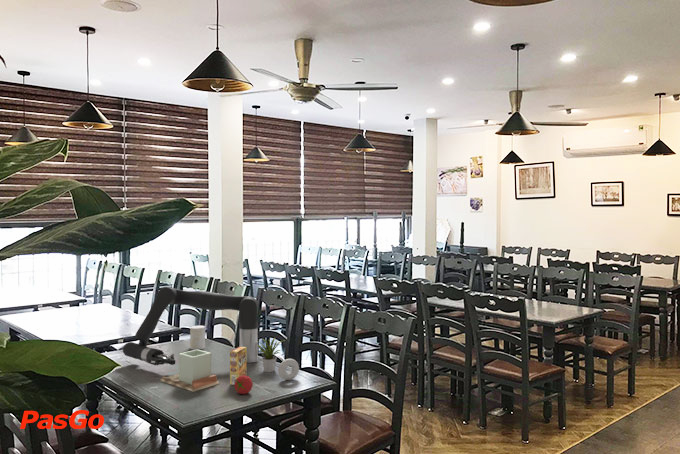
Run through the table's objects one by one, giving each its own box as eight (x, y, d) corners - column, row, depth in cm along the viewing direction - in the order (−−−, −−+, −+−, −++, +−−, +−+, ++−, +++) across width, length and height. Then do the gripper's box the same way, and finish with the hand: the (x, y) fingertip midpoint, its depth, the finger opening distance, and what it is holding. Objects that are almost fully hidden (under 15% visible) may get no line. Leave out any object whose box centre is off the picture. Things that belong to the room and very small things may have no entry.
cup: (187, 348, 308) (187, 327, 308) (196, 345, 316) (196, 325, 315) (199, 350, 305) (199, 328, 305) (207, 346, 312) (207, 326, 312)
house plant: (282, 365, 277) (282, 333, 276) (288, 372, 263) (289, 339, 263) (254, 367, 272) (254, 334, 272) (259, 375, 259) (259, 341, 259)
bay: (160, 380, 249) (160, 372, 249) (186, 373, 260) (186, 365, 260) (193, 391, 234) (193, 382, 234) (218, 383, 245) (218, 375, 245)
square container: (178, 381, 244) (178, 353, 244) (197, 376, 252) (197, 349, 252) (192, 386, 238) (192, 357, 238) (211, 380, 246) (211, 352, 245)
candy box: (237, 385, 243) (237, 351, 243) (229, 384, 244) (229, 350, 244) (247, 379, 252) (247, 347, 251) (238, 379, 253) (238, 346, 252)
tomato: (248, 370, 237) (238, 371, 230) (259, 384, 233) (248, 385, 227) (237, 383, 238) (226, 385, 231) (247, 397, 235) (237, 399, 228)
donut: (279, 382, 248) (279, 360, 248) (277, 380, 251) (277, 358, 251) (300, 379, 253) (300, 358, 252) (297, 377, 256) (297, 356, 255)
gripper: (140, 351, 259) (161, 357, 249) (164, 345, 270) (185, 351, 259) (140, 366, 260) (161, 373, 249) (164, 360, 270) (185, 367, 260)
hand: (173, 362), depth 254 cm, fingers closed
